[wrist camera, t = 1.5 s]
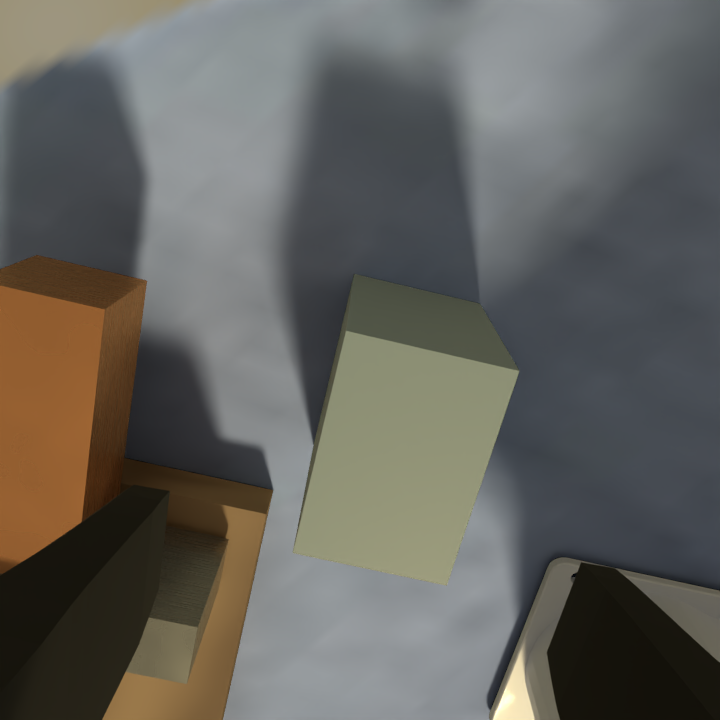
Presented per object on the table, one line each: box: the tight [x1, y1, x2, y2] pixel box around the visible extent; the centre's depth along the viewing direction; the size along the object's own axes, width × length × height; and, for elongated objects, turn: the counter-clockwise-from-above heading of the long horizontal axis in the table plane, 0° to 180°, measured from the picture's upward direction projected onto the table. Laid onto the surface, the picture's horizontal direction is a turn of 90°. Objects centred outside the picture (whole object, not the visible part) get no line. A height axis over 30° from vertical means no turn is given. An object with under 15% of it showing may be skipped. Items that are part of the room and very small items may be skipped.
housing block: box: [293, 274, 519, 585], centre depth 19 cm, size 4×6×6 cm, turn 167°
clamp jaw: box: [0, 255, 229, 684], centre depth 18 cm, size 10×10×4 cm
